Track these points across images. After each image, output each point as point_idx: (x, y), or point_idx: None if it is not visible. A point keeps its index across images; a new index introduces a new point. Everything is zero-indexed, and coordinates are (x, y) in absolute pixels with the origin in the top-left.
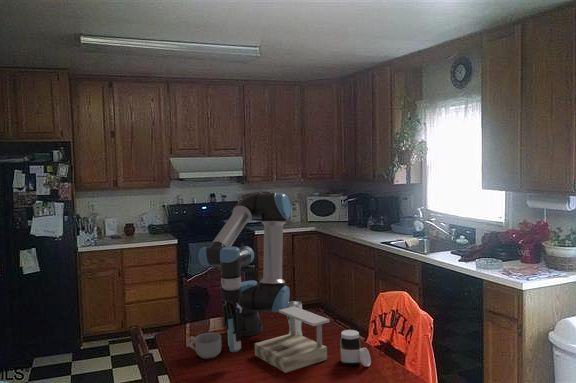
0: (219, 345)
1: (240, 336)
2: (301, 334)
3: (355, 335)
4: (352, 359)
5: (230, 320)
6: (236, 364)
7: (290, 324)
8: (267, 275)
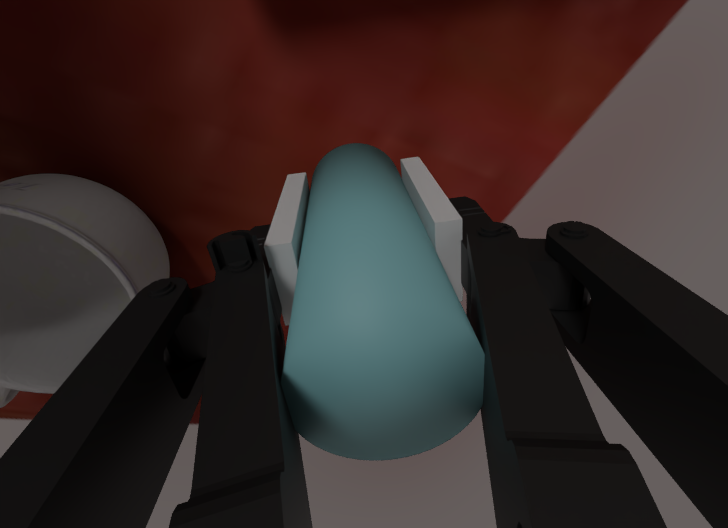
0: (111, 221)
1: (486, 215)
2: None
3: None
4: None
5: (402, 436)
6: (323, 136)
7: None
8: None
